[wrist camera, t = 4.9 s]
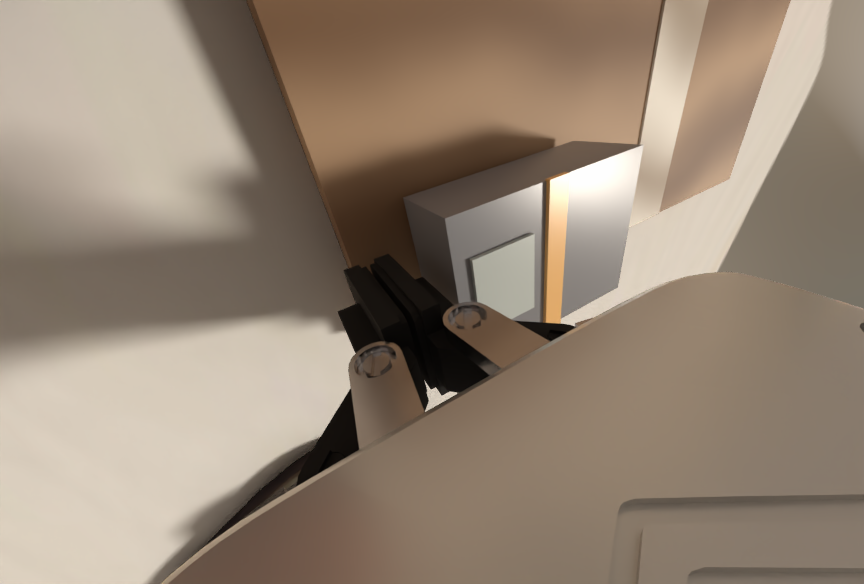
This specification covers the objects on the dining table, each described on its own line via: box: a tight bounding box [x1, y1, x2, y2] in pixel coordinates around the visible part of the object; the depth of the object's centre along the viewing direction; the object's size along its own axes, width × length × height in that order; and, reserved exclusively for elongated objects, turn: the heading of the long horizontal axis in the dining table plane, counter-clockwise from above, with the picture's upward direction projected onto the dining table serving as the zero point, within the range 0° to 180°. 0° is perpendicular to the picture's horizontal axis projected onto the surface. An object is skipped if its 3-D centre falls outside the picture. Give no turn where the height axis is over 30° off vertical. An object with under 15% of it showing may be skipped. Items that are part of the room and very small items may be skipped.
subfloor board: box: [246, 0, 791, 279], centre depth 13 cm, size 20×26×2 cm
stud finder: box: [403, 141, 644, 324], centre depth 12 cm, size 6×8×3 cm
